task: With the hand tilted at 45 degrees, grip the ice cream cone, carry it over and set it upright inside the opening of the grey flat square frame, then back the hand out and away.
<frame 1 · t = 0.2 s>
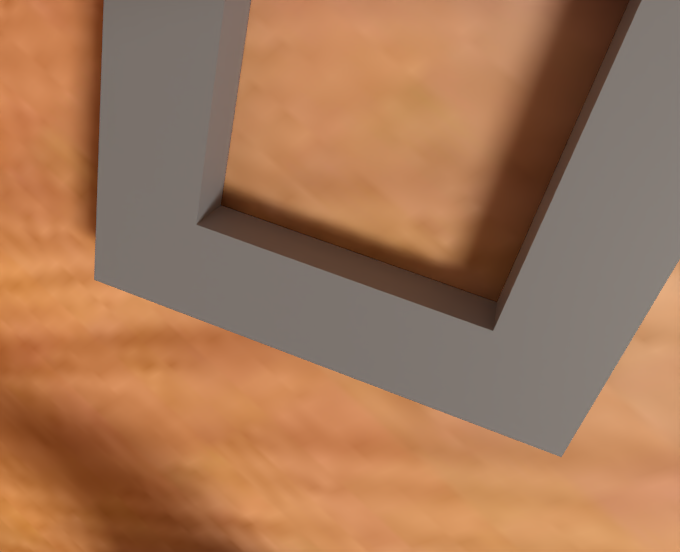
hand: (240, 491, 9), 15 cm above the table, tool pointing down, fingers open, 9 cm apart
grey flat square frame: (394, 110, 20), on the table
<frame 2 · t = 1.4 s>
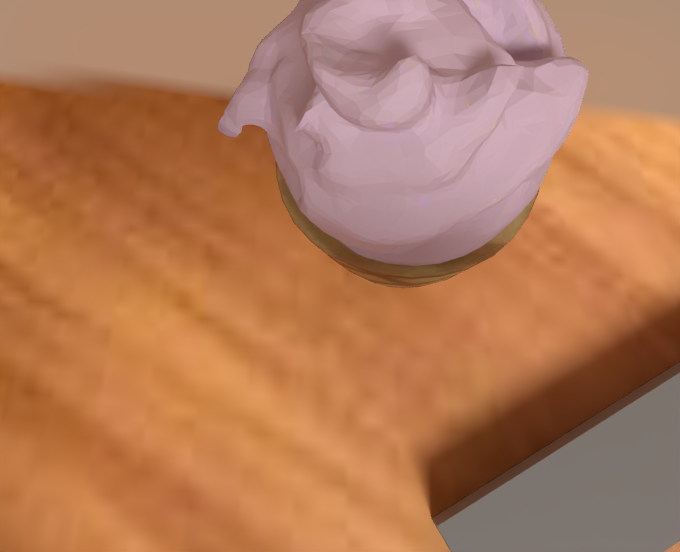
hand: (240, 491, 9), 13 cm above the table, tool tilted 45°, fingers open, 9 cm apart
ice cream cone: (387, 263, 24), on the table
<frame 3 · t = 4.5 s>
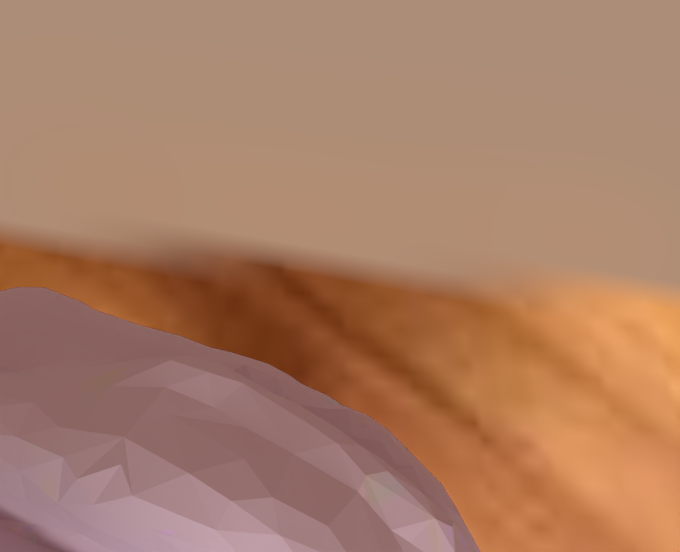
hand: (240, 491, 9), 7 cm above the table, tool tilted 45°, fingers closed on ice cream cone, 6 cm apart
ice cream cone: (281, 524, 16), on the table, touching gripper
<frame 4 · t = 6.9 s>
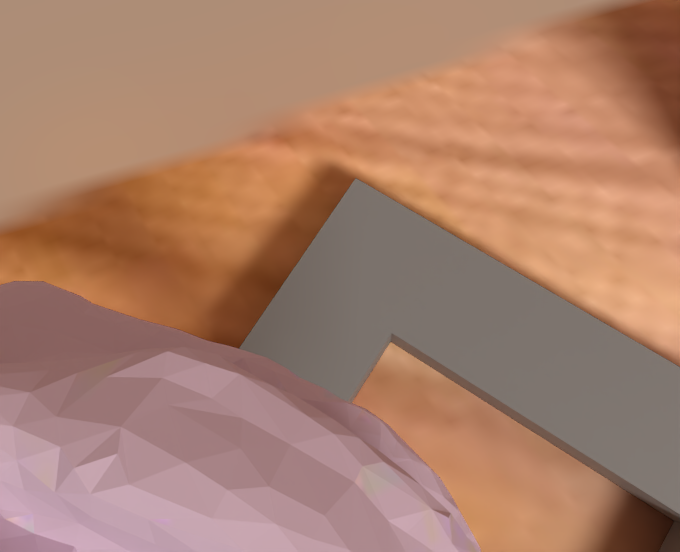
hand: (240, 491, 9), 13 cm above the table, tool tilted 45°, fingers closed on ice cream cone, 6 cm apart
ice cream cone: (281, 520, 16), point 6 cm above the table, touching gripper
when the fingers open (8 cm above the table, at t = 9.4 s): ice cream cone drops 1 cm, resting in grey flat square frame.
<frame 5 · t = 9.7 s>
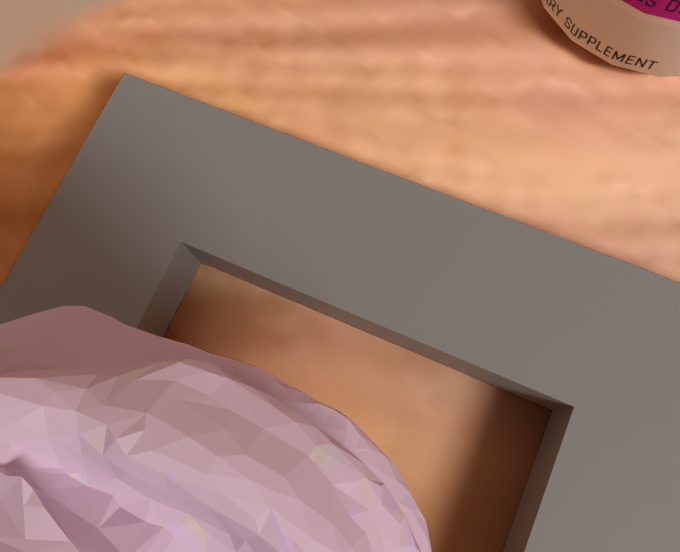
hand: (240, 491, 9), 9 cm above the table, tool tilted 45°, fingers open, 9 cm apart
grey flat square frame: (288, 517, 17), on the table
ice cream cone: (284, 517, 17), resting in grey flat square frame
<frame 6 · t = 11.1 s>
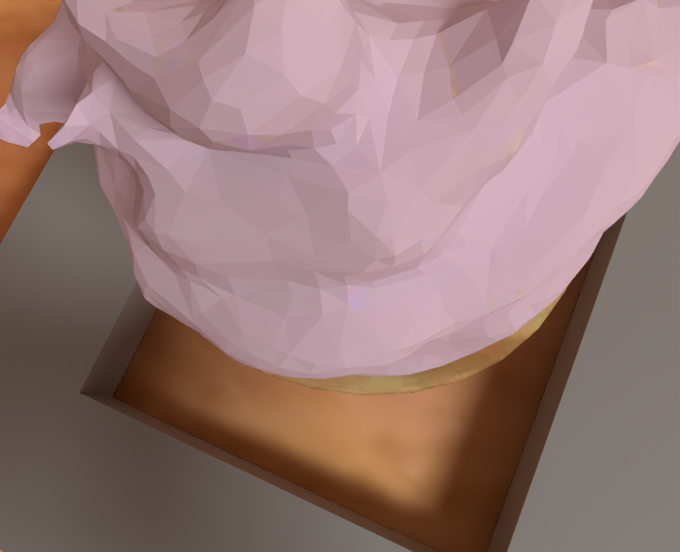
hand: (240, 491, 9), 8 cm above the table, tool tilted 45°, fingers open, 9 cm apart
grey flat square frame: (366, 296, 18), on the table
ice cream cone: (361, 298, 18), resting in grey flat square frame
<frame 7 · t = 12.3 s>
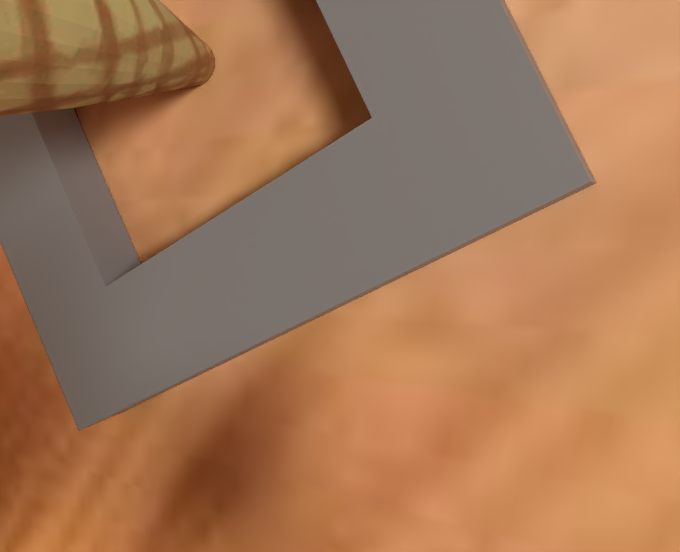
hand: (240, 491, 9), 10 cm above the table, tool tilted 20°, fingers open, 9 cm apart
grey flat square frame: (191, 64, 21), on the table
ice cream cone: (193, 69, 21), resting in grey flat square frame
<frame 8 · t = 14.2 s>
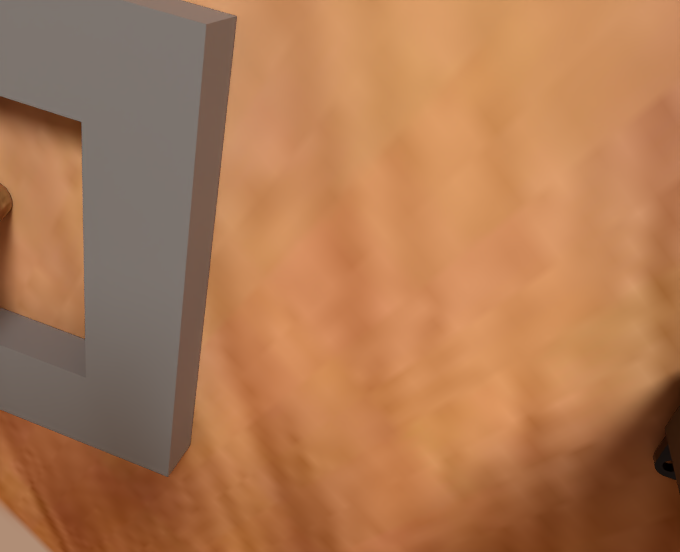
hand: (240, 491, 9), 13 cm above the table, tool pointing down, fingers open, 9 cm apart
ice cream cone: (0, 202, 25), resting in grey flat square frame
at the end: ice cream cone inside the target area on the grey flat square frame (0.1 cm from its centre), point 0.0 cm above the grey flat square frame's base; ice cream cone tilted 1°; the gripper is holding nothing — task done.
